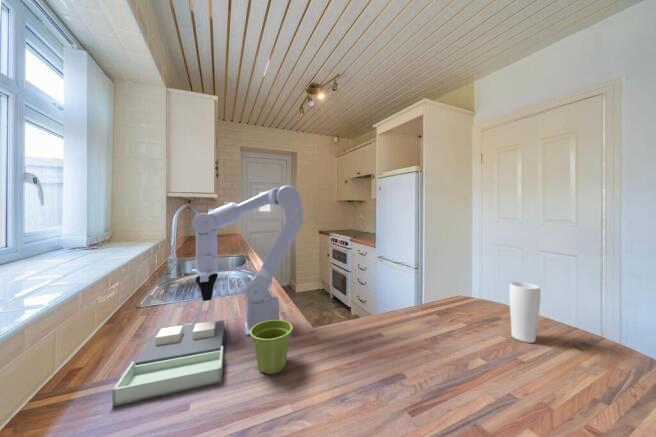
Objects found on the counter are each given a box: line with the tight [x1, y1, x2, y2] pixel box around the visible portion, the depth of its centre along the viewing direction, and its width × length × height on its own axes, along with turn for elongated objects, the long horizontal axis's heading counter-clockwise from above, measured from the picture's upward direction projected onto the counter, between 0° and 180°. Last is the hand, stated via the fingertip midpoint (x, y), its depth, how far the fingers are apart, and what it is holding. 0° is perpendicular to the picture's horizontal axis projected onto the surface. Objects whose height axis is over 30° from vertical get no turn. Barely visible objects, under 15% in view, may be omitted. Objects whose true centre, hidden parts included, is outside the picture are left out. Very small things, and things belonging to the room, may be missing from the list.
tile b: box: [155, 324, 184, 345], centre depth 63 cm, size 5×5×2 cm
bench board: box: [135, 319, 225, 366], centre depth 64 cm, size 17×16×2 cm
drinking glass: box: [508, 281, 541, 344], centre depth 68 cm, size 7×7×15 cm
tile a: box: [193, 320, 217, 339], centre depth 66 cm, size 5×5×2 cm
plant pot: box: [249, 319, 293, 375], centre depth 56 cm, size 9×9×9 cm
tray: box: [111, 345, 224, 407], centre depth 52 cm, size 18×9×3 cm, turn 110°
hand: (207, 299), depth 73 cm, fingers closed
